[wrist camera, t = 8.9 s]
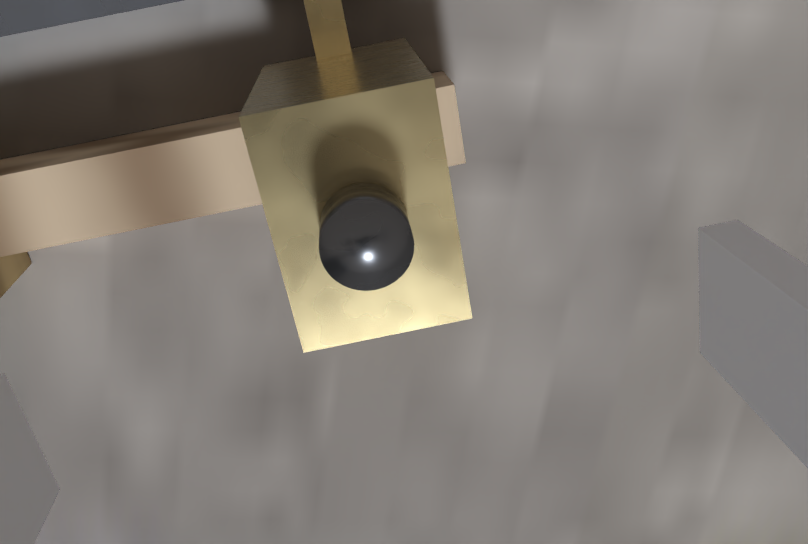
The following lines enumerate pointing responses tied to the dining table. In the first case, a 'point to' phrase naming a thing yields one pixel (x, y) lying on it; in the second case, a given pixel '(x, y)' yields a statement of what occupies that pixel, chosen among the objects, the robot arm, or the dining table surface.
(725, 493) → the dining table surface
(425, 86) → the block
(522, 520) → the dining table surface
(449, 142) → the bar
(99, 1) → the bolt plate
